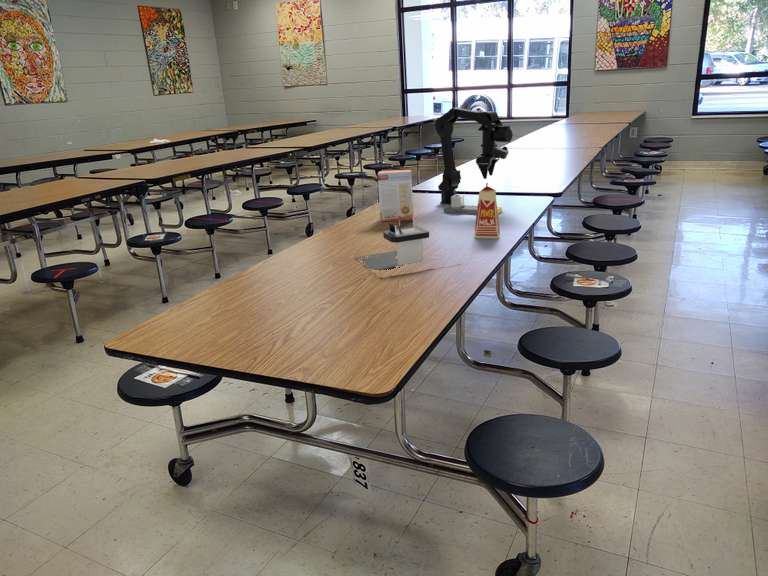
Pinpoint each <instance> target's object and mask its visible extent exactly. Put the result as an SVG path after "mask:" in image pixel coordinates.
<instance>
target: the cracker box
mask: <svg viewBox="0 0 768 576" xmlns="http://www.w3.org/2000/svg"><path fill="white" fill-rule="evenodd" d="M412 178H413V177H412V170H411V169H399V170H398V169H397V170H380V171H378V172H377V187H378V188H377V189H378V203H379V216H380V222H399V221H401V222H404V220H410V221H411V222H412V220H411V219H414V200H413V181H412V180H413V179H412Z"/></svg>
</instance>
